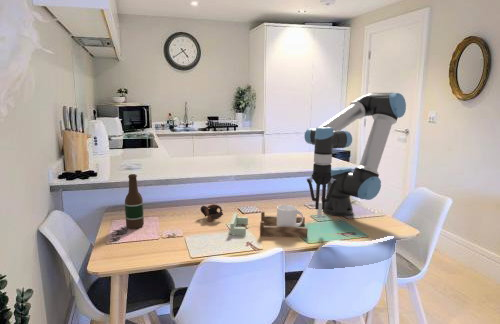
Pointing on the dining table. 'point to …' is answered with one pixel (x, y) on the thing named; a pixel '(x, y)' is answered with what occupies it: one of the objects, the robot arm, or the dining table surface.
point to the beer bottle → (134, 205)
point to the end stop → (236, 221)
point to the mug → (287, 216)
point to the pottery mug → (212, 212)
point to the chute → (281, 227)
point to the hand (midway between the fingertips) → (319, 216)
